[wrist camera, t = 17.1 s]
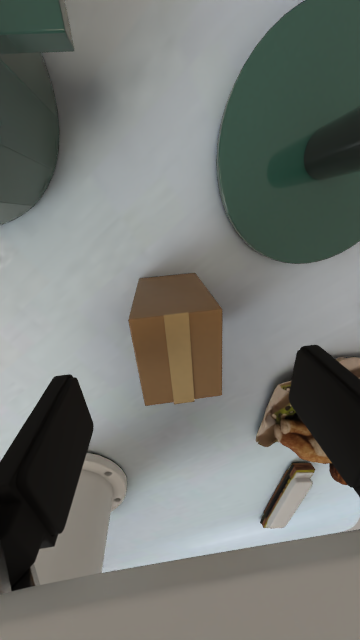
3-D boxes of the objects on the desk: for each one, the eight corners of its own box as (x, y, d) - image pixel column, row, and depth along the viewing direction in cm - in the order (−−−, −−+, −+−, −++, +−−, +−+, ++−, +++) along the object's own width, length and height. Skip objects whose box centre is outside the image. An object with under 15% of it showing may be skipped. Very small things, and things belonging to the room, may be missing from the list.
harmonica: (290, 461, 30) (298, 476, 28) (309, 460, 31) (319, 476, 29) (258, 518, 36) (264, 534, 34) (275, 517, 37) (282, 533, 35)
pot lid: (377, 252, 19) (475, 268, 13) (214, 269, 18) (243, 293, 12) (451, 2, 13) (694, -175, 7) (212, 8, 12) (266, -189, 6)
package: (198, 333, 20) (222, 397, 13) (148, 339, 20) (144, 408, 13) (195, 271, 18) (223, 308, 11) (138, 277, 18) (127, 319, 10)
